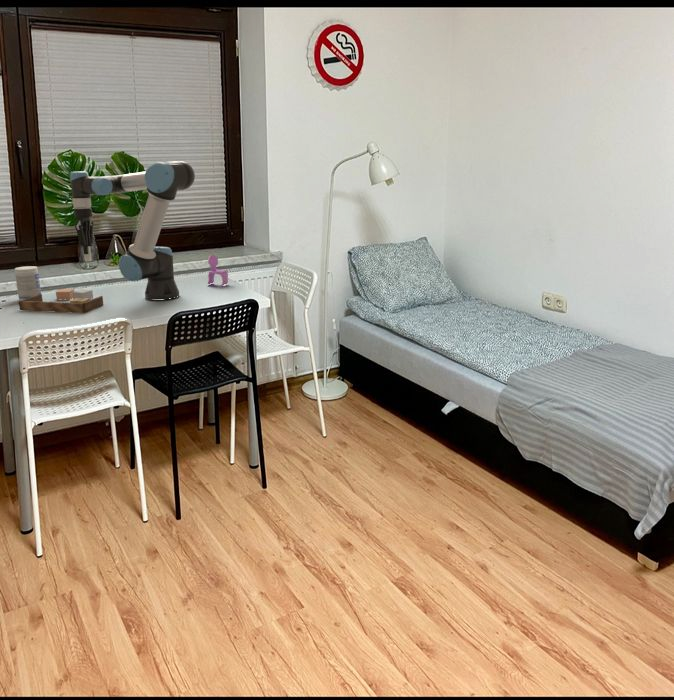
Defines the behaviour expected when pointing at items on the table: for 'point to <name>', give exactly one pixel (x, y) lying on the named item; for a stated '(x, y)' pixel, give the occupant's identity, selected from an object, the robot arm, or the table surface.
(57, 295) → the terracotta tile
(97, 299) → the frame
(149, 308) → the table surface
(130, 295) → the table surface
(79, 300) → the oak tile
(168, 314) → the table surface
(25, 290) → the supplement tub
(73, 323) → the table surface
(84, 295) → the grey tile
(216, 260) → the toy chair
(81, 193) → the robot arm
